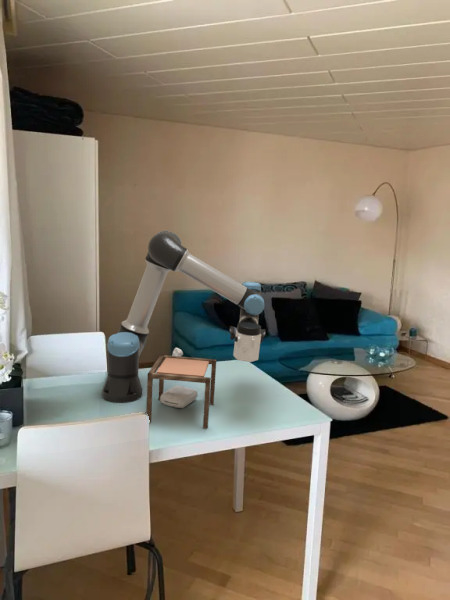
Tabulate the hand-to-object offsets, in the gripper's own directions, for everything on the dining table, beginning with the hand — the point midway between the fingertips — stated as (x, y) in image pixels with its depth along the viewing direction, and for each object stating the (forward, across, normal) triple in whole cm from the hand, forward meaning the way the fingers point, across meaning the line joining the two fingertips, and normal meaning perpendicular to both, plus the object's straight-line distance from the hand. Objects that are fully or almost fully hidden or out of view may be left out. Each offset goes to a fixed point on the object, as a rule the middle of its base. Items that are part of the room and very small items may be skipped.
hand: (245, 343), depth 163 cm
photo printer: (-18, +22, -27) cm, 39 cm away
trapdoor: (-3, +21, -12) cm, 25 cm away
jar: (-5, 0, -7) cm, 9 cm away
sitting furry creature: (-42, +31, -29) cm, 60 cm away
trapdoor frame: (-3, +21, -29) cm, 36 cm away
